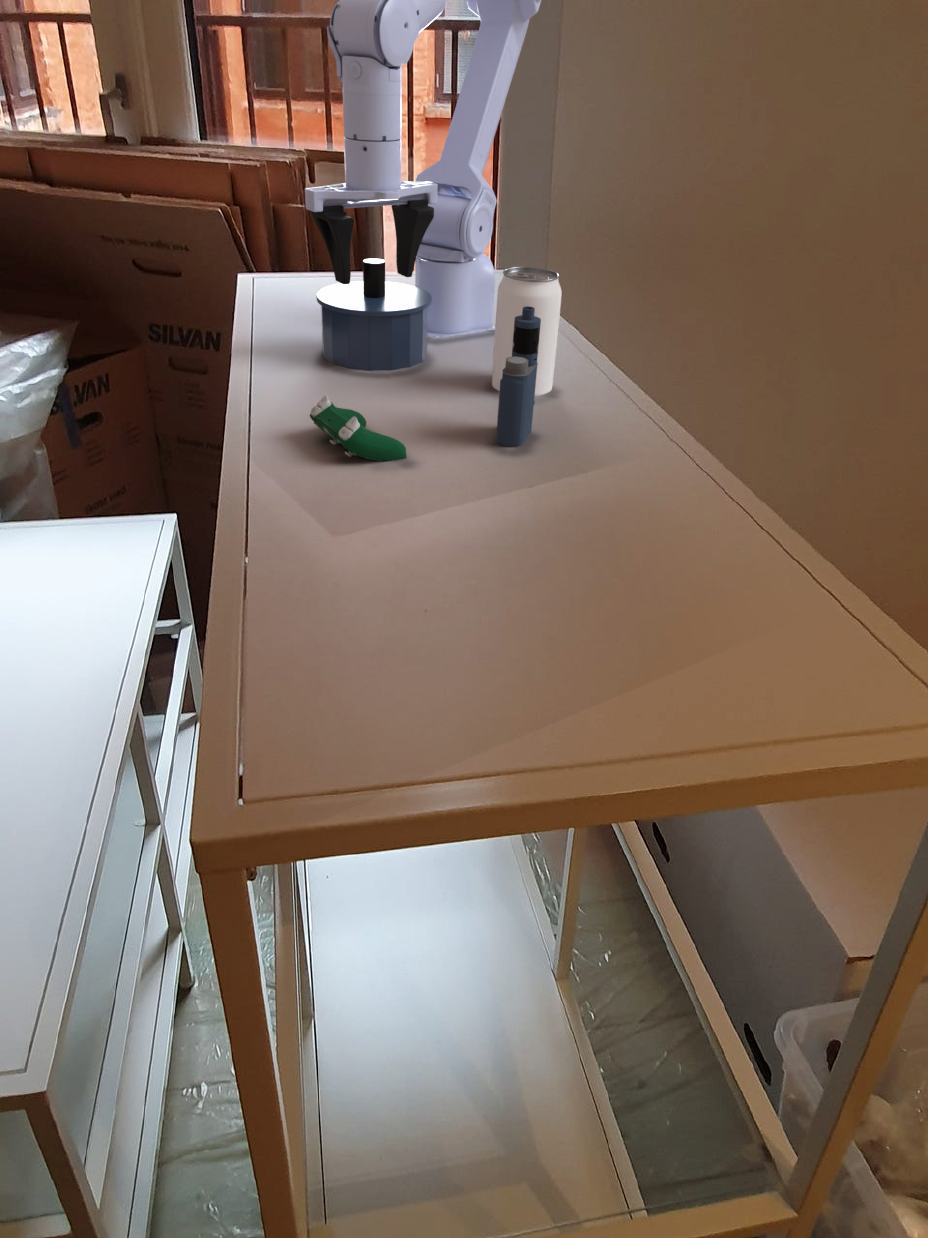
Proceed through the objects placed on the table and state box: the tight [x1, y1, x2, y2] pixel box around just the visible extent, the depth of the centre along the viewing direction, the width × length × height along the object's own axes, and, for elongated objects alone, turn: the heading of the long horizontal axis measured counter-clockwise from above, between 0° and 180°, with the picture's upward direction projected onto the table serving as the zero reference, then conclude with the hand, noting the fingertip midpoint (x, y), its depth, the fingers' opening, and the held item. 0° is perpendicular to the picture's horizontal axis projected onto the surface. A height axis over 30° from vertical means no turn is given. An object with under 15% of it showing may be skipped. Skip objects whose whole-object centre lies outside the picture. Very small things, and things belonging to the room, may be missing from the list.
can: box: [491, 266, 563, 397], centre depth 94 cm, size 6×6×12 cm
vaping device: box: [495, 306, 541, 448], centre depth 82 cm, size 3×5×12 cm, turn 161°
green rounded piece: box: [309, 395, 407, 462], centre depth 81 cm, size 9×4×6 cm
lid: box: [315, 258, 432, 316], centre depth 99 cm, size 13×13×5 cm
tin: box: [320, 305, 428, 372], centre depth 102 cm, size 12×12×6 cm
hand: (374, 278), depth 99 cm, fingers open, 7 cm apart
